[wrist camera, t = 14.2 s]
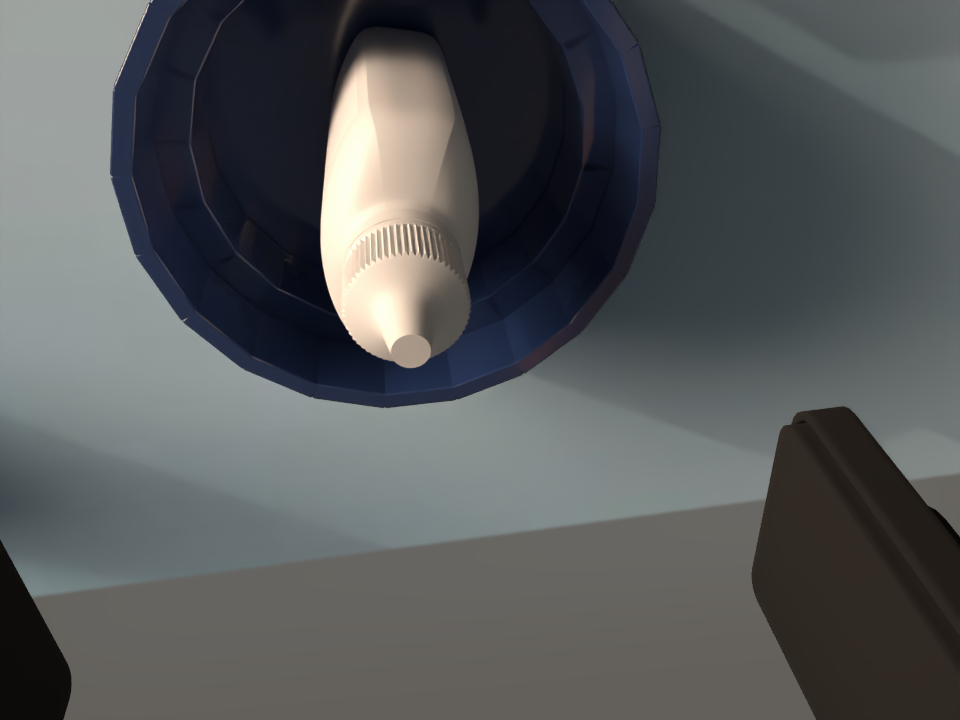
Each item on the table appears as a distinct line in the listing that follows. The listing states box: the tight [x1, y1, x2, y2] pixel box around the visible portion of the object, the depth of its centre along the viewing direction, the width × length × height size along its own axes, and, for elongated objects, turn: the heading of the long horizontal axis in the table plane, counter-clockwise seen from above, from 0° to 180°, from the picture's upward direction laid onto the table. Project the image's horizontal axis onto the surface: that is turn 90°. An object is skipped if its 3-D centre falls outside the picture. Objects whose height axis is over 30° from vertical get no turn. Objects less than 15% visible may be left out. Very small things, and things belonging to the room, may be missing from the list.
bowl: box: [110, 0, 661, 408], centre depth 23 cm, size 13×13×6 cm
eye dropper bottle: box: [320, 26, 479, 368], centre depth 20 cm, size 4×6×12 cm
